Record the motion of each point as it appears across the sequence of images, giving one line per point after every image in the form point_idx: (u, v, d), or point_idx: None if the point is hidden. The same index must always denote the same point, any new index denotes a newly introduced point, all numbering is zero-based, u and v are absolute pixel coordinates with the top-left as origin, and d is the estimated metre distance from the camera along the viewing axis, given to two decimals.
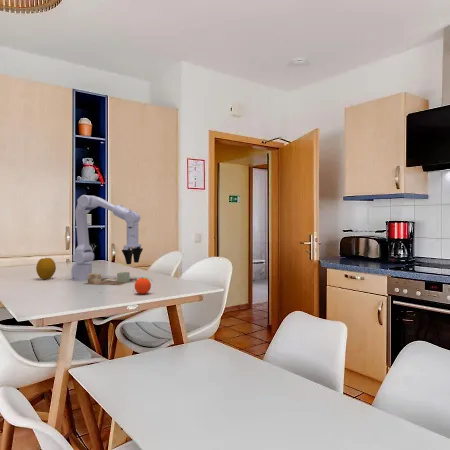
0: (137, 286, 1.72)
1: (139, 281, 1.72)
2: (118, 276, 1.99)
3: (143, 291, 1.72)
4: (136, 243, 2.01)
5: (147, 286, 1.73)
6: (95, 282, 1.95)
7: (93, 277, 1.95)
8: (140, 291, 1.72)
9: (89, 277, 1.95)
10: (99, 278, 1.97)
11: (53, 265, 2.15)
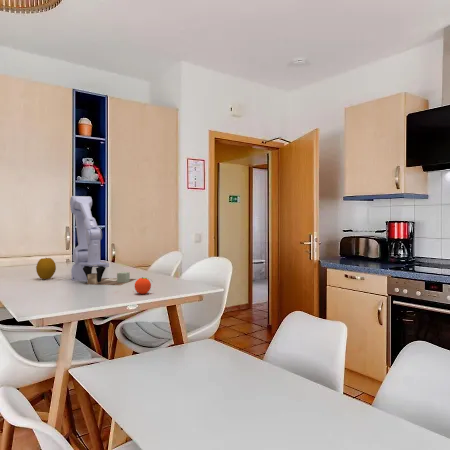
0: (137, 286, 1.72)
1: (139, 281, 1.72)
2: (118, 276, 1.99)
3: (143, 291, 1.72)
4: (89, 261, 1.94)
5: (147, 286, 1.73)
6: (95, 282, 1.95)
7: (93, 277, 1.95)
8: (140, 291, 1.72)
9: (89, 277, 1.95)
10: None
11: (53, 265, 2.15)
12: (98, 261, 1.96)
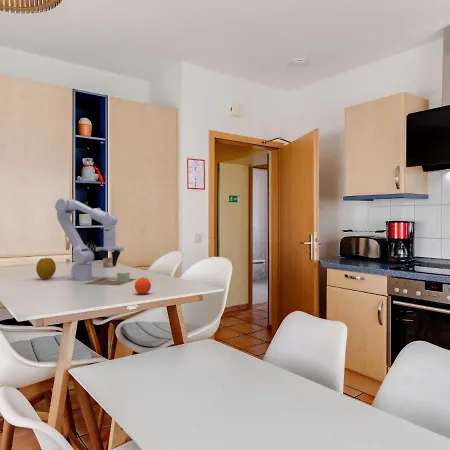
0: (137, 286, 1.72)
1: (139, 281, 1.72)
2: (118, 276, 1.99)
3: (143, 291, 1.72)
4: (105, 246, 2.03)
5: (147, 286, 1.73)
6: (110, 266, 2.03)
7: (108, 261, 2.03)
8: (140, 291, 1.72)
9: (105, 261, 2.04)
10: None
11: (53, 265, 2.15)
12: (113, 245, 2.05)
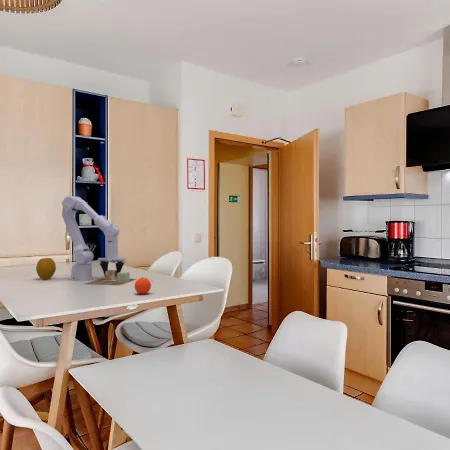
0: (137, 286, 1.72)
1: (139, 281, 1.72)
2: (118, 276, 1.99)
3: (143, 291, 1.72)
4: (107, 257, 2.05)
5: (147, 286, 1.73)
6: (113, 278, 2.05)
7: (111, 274, 2.05)
8: (140, 291, 1.72)
9: (107, 274, 2.05)
10: (116, 275, 2.08)
11: (53, 265, 2.15)
12: (116, 257, 2.06)
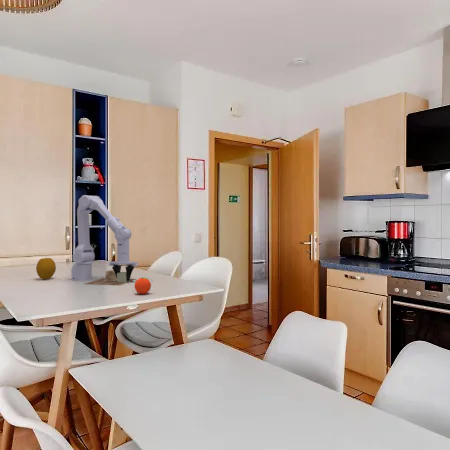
0: (137, 286, 1.72)
1: (139, 281, 1.72)
2: (118, 276, 1.99)
3: (143, 291, 1.72)
4: (119, 260, 1.98)
5: (147, 286, 1.73)
6: (113, 278, 2.05)
7: (111, 274, 2.05)
8: (140, 291, 1.72)
9: (107, 274, 2.05)
10: None
11: (53, 265, 2.15)
12: (127, 260, 2.00)
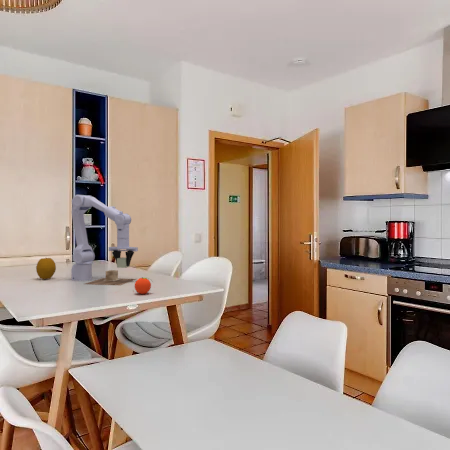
0: (137, 286, 1.72)
1: (139, 281, 1.72)
2: (118, 261, 1.99)
3: (143, 291, 1.72)
4: (119, 245, 1.98)
5: (147, 286, 1.73)
6: (113, 278, 2.05)
7: (111, 274, 2.05)
8: (140, 291, 1.72)
9: (107, 274, 2.05)
10: (116, 275, 2.08)
11: (53, 265, 2.15)
12: (127, 245, 1.99)
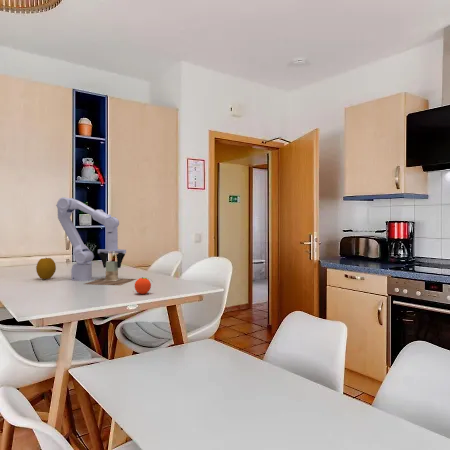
0: (137, 286, 1.72)
1: (139, 281, 1.72)
2: (107, 265, 2.06)
3: (143, 291, 1.72)
4: (107, 248, 2.05)
5: (147, 286, 1.73)
6: (113, 278, 2.05)
7: (111, 274, 2.05)
8: (140, 291, 1.72)
9: (107, 274, 2.05)
10: (116, 275, 2.08)
11: (53, 265, 2.15)
12: (116, 248, 2.06)
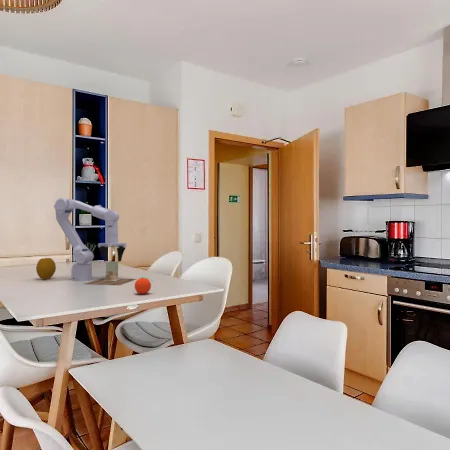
0: (137, 286, 1.72)
1: (139, 281, 1.72)
2: (107, 265, 2.06)
3: (143, 291, 1.72)
4: (108, 242, 2.05)
5: (147, 286, 1.73)
6: (113, 278, 2.05)
7: (111, 274, 2.05)
8: (140, 291, 1.72)
9: (107, 274, 2.05)
10: (116, 275, 2.08)
11: (53, 265, 2.15)
12: (116, 241, 2.06)
